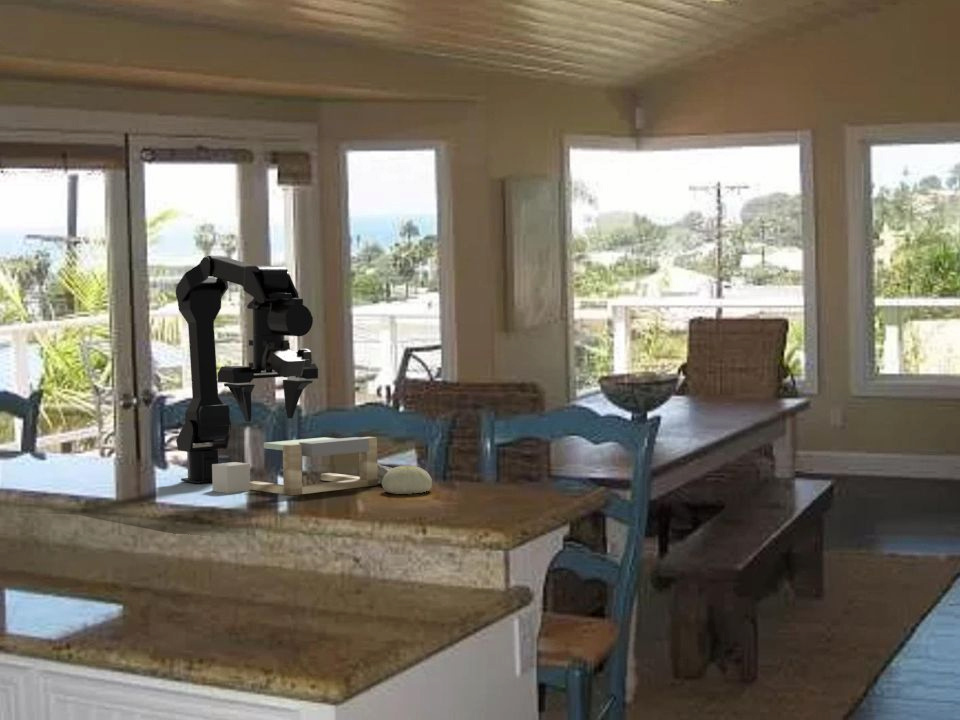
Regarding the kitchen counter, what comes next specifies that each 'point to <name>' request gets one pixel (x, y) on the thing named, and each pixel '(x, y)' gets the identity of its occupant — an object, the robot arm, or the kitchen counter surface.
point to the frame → (338, 481)
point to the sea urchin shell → (406, 480)
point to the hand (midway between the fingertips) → (269, 420)
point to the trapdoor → (325, 446)
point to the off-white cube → (231, 477)
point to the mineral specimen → (382, 472)
